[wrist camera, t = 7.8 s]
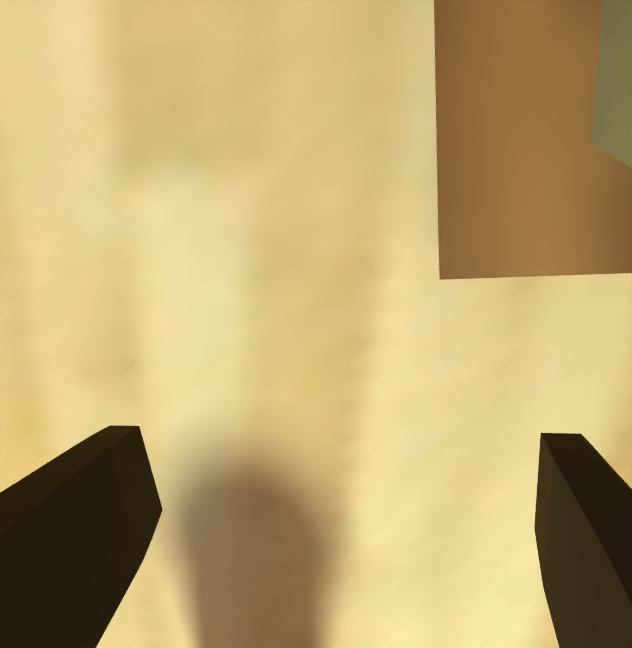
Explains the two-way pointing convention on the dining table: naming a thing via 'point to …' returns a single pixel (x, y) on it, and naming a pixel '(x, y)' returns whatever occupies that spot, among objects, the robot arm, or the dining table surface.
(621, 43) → the cube
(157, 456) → the dining table surface
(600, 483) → the robot arm
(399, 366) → the dining table surface
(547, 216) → the base block
